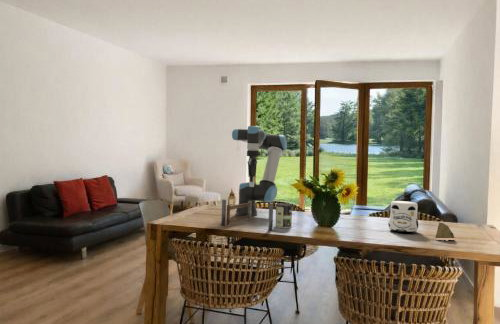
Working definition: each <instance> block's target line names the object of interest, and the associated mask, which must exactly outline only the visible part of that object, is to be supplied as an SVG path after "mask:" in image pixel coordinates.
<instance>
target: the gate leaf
mask: <svg viewBox="0 0 500 324" xmlns="http://www.w3.org/2000/svg"><path fill="white" fill-rule="evenodd" d="M247 206H248V215H246V216H238V217H237V216H236V217H232V218H231V210H237V208H242V207H247ZM251 215H252V201H248V203H244V204H239V203H238V204H235V205H234V204H233V205H230V204H226V219H225V226H226V225H227V226H230V225H231V223H232V222H237V221H242V220H246V219H247V220H252V216H251Z"/></svg>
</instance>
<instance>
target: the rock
mask: <svg viewBox="0 0 500 324" xmlns="http://www.w3.org/2000/svg"><path fill="white" fill-rule="evenodd" d="M436 229H437V230H436V234H435V238H455V236H454V235H455V234H454V233H453V232H452V231H451V228H450V227H449V226H448V225H447V224H445V223H444V222H439V223H438V226H437V228H436Z"/></svg>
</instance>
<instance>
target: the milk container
mask: <svg viewBox="0 0 500 324" xmlns="http://www.w3.org/2000/svg"><path fill="white" fill-rule="evenodd" d="M418 208H419V207H418V203H417V202H414V201H413V202H412V201H407V200H406V201H405V200H392V201H391V203H390V213H389V215H390V216H389V219H388V222H387V223H388V228H389V229H390V231H393V232H396V231H398V232H397V233H401V232H413V233H416V232H417V231H418V230H419V221H418Z"/></svg>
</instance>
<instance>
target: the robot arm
mask: <svg viewBox="0 0 500 324" xmlns="http://www.w3.org/2000/svg"><path fill="white" fill-rule="evenodd" d="M231 137H232V138H231V139H232V140H233V141H241V142H243V143H246V150H247V151H246V156H247V157H249V158H248V161H247V171H248V172H247V173H248V177H249V182H242V183H241V182H240V184H239V188H238V204H244V203H248V201H252V215H251V217H255V216H258V210H257V206H256V202H266V203H272V202H274V201H275V199H276V197H277V195H278V186H276V183H275V182H276V181H275V180H276V177H277V172H278V166H279V162H280V158H281V155H283V153H284V152H286V151H287V150H288V140H287V137H286V136H285V135H284V134H268V133H266V131H265V130H263V129H260V126H257V125H249V126H248V127H247V129H242V128H238V129H236V128H234V129H233V130H232V131H231ZM259 149H262V150H265V151H267V152H268V153H267V154H268V156H267V159H266V163H265V168H264V172H263V175H262V179H260V181H259V183H258V184H257V183H256V182H255V177H257V176H256V174H257V163H258V160H257V157H259ZM235 210H236V211H235V215H237V216H238V217H241V216H246V215H248V206H247V207H242V208H237V209H235Z"/></svg>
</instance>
